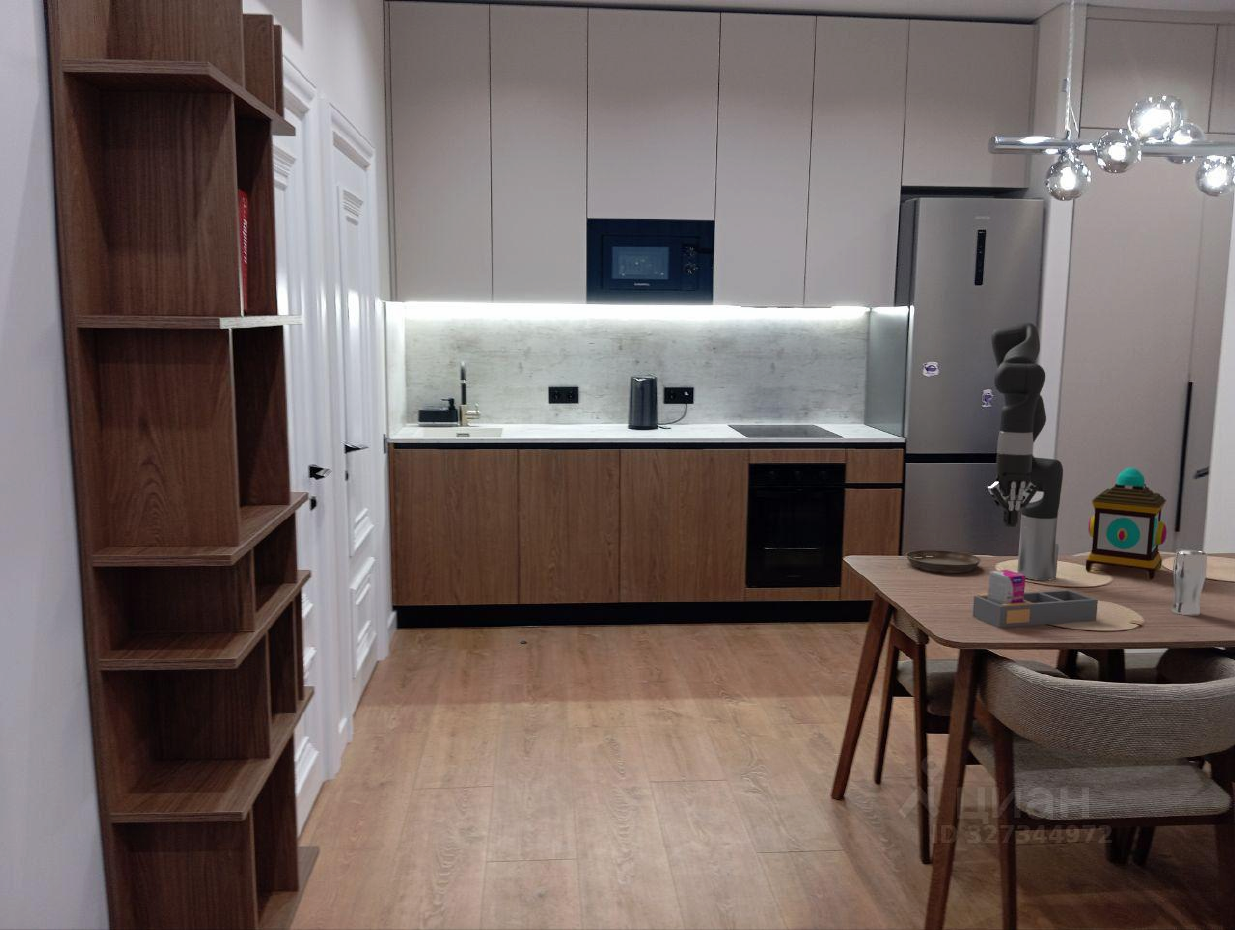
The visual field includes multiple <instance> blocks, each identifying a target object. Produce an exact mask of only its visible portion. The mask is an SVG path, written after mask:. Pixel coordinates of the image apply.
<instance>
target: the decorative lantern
mask: <svg viewBox="0 0 1235 930" xmlns="http://www.w3.org/2000/svg"><path fill="white" fill-rule="evenodd" d="M1091 503H1092V506H1093V508H1094V515H1092V516H1091V517H1090V519H1088V534H1089V536H1090V537H1092V544H1091V545H1092V547H1091V551H1090V552H1089V554H1088V556H1087V559H1086V561H1085V570H1086V572H1088V573H1090V572H1091V571H1092V569H1093V565H1102V566H1111V567H1118V568H1124V569H1125V568H1127V569H1133V570H1134V569H1135V570H1140V571H1146V572H1147V576H1148V577H1147V578H1148V580H1149V581H1153V580H1155V579H1154V578H1155V574H1156V571H1159V570H1161V568H1162V562H1163V560H1162V556H1161V554H1160V551H1159V546H1162V545H1163V544H1164V543H1165V541H1166V539H1167V531H1168V530H1167V527H1166V524H1165V523H1164V522H1163V521H1161V517H1162V516H1161V515H1162V510H1163V507H1164V505H1166V503H1167V500H1166V499H1165V498H1164V496H1162V495H1161V493H1159V492H1153V490H1151V489H1150V487H1147V484H1146V482H1145V476H1144V475H1143V474H1142V472H1141V471H1139V469H1137V468H1135V467H1128V468H1125V469H1124V470H1122V472H1120V473H1119V474H1118V476H1117V480H1116V483H1115V484H1114V485H1113V486H1112V487H1111V488H1106V489H1104V490H1103V491H1102V492H1101V493H1099V494H1098V495H1096V496H1095V497H1094V498H1093V499H1092V500H1091Z"/></svg>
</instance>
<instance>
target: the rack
mask: <svg viewBox="0 0 1235 930" xmlns="http://www.w3.org/2000/svg"><path fill="white" fill-rule="evenodd" d="M987 598H988V593H980V594H977V595H973V606H972V617H973V618H976V619H977V620H980V621H982V622H984V623H986V624H989V625H991V626H993V627H996V628H998V629H1004V628H1017V627H1019V628H1020V627H1029V626H1042V625H1044V626H1045V625H1058V624H1068V623H1069V624H1071V623H1083V622H1093V621H1094V622H1095V621H1097V615H1098V603H1099V599H1097V598H1094V597H1091V596H1087V595H1085V594H1083V593H1079V592H1076V591H1074V590H1070V589H1059V590H1057V589H1056V590H1044V591H1043V590H1042V591H1041V590H1040V591H1028V592H1027V591H1026V592H1024V598H1023V603H1009V604H1001V605H999V604H997V603H994V602H992V601H990V600H987Z"/></svg>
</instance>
